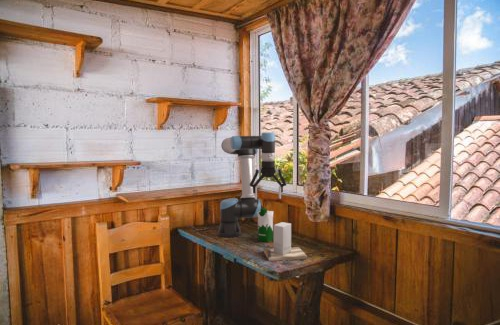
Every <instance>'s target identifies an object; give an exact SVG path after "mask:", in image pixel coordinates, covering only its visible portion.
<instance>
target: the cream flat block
mask: <svg viewBox="0 0 500 325" xmlns="http://www.w3.org/2000/svg"><path fill="white" fill-rule="evenodd" d="M263 253H264V255H265V256H266V258H267V260H268V261H269V262H273V261H289V260H291V261H293V260H307V259H308V256H307V254H306V252H304V251H303V249H301V247H299V246H294V247H292V246H291V252H289V253H287V254H285V255H279V254H274V247H273V248H269V245H268V244H267V242H263Z"/></svg>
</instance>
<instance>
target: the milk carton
mask: <svg viewBox="0 0 500 325" xmlns="http://www.w3.org/2000/svg"><path fill="white" fill-rule="evenodd" d="M274 212H275V211H274V210H268V209H267V208H266V207H264V208H263V207H261V209H260V211H259V212H257V242H261V243H262V242H263V243H266V244H267V243H269V242H272V241H274V223H273V222H274Z"/></svg>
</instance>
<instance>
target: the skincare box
mask: <svg viewBox="0 0 500 325" xmlns="http://www.w3.org/2000/svg"><path fill="white" fill-rule="evenodd" d="M291 247H292V223H290V222H284V221H283V222H282V221H281V222H279V223H275V224H273V248H274V254H279V255H285V254H287V253H289V252H291Z"/></svg>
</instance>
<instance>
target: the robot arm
mask: <svg viewBox="0 0 500 325" xmlns="http://www.w3.org/2000/svg"><path fill="white" fill-rule="evenodd" d="M221 149H222V151H223V152H224V153H226V154H229V155H237V157H238V159H239V160H240V177H241V196H240V197H239V199H238V198H233V197H232V198H226V199H223V200H221V201H220V207H219V209H220V212H219V214H220V216H219V217H220V221H219V222H220V224H219V227H218V230H217V235H218V236H219V237H222V238H235V237H239V236H241V235H242V230H241V228H240V223H239V219H246V218H247V219H248V218H251V219H252V218H258V216H257V212H259V211H260V209H261V208H262V202H261V200H260V199H259V198H258V188H257V186H258V185H259V184H260V182H261V181H262V180H263V178H267V179H268V178H273V179H274V180H275V182H276V183H277V184H278V185H279V186H278V199H280V200H281V199H282V193H283V192H284V187H285V186H287V183H286V181H285V178H284V176H283V174H282V170H281V169H280V168H277V169H276V161H275V159H276V134H275V133H274V132H262V133H261V134H260V135H233V136H231V137H226V138H225V139H223V140H222V142H221ZM258 150H260V151H261V152H260V153H261V154H260V156H261V157H260V159H261V163H260V164H261V165H260V166H261V167H260V169H257V168H256V169H255V171H254V158H255V157H256V155H257V154H258ZM260 173H261V175H260V176H259V178H258V175H259V174H260ZM276 173H277V175H278V177H279V179H280V180H279V179H278V178H277V176H276V175H275V174H276Z"/></svg>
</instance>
